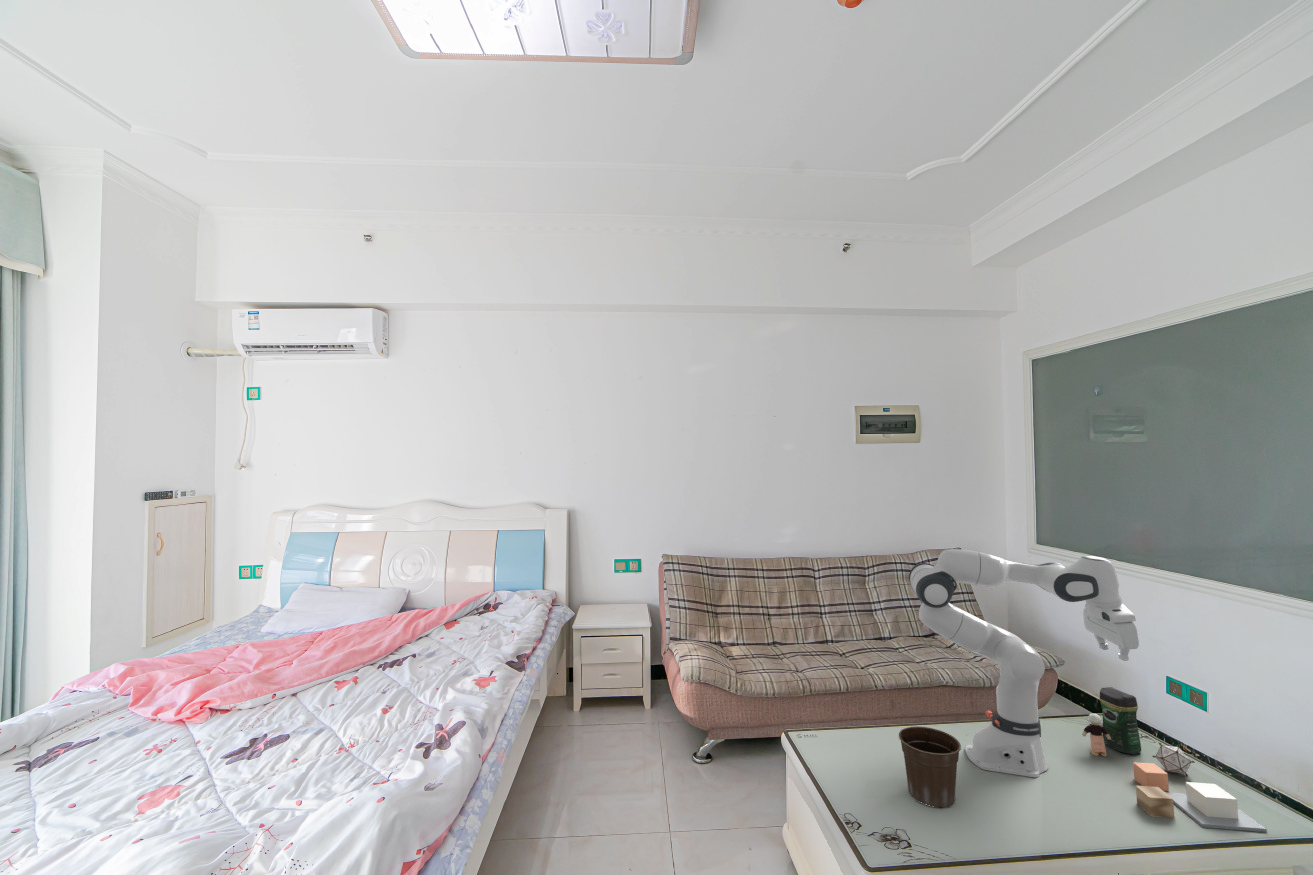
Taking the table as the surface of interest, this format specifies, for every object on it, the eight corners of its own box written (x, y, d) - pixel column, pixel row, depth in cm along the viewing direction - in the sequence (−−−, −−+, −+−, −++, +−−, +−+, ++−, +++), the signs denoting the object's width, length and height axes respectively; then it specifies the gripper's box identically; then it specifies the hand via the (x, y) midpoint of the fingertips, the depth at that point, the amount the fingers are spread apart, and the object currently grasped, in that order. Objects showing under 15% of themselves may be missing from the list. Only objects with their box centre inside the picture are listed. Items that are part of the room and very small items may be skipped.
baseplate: (1202, 826, 142) (1200, 803, 142) (1163, 794, 156) (1162, 773, 156) (1266, 831, 139) (1264, 808, 140) (1221, 798, 153) (1219, 777, 153)
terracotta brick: (1147, 789, 158) (1145, 772, 159) (1134, 779, 164) (1133, 762, 164) (1169, 791, 157) (1167, 773, 158) (1155, 780, 163) (1154, 763, 163)
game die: (1177, 782, 167) (1190, 753, 169) (1191, 787, 160) (1205, 756, 161) (1142, 761, 172) (1155, 733, 173) (1155, 764, 164) (1169, 735, 166)
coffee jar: (1147, 753, 177) (1142, 695, 178) (1126, 756, 176) (1121, 697, 177) (1117, 739, 187) (1113, 683, 188) (1097, 741, 185) (1093, 685, 186)
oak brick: (1150, 816, 147) (1149, 797, 147) (1137, 803, 152) (1135, 785, 152) (1174, 818, 146) (1173, 798, 146) (1159, 805, 151) (1158, 786, 151)
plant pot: (961, 786, 162) (958, 731, 163) (966, 819, 148) (963, 758, 149) (902, 775, 169) (899, 722, 170) (901, 805, 155) (898, 747, 155)
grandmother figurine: (1105, 750, 180) (1102, 711, 180) (1114, 756, 176) (1111, 716, 176) (1080, 750, 180) (1077, 710, 181) (1088, 756, 177) (1085, 716, 177)
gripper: (1074, 601, 179) (1082, 644, 178) (1115, 619, 159) (1124, 667, 158) (1095, 599, 178) (1103, 642, 177) (1139, 617, 158) (1148, 665, 157)
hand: (1113, 654), depth 168 cm, fingers open, 8 cm apart
